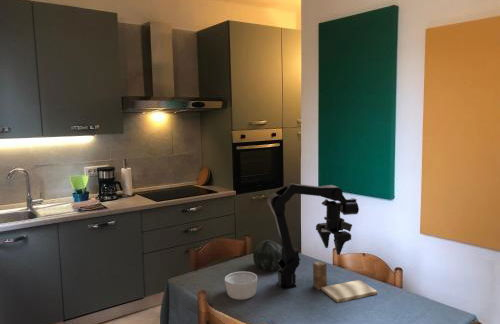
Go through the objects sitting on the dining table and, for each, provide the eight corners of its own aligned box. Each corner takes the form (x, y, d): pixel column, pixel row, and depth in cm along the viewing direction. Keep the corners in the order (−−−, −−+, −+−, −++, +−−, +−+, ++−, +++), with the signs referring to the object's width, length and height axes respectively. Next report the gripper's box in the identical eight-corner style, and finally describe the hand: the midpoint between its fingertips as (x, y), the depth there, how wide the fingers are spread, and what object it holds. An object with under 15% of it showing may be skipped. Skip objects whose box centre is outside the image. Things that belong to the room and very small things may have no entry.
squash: (272, 248, 201) (257, 230, 193) (295, 256, 190) (280, 238, 182) (256, 272, 195) (241, 255, 187) (279, 281, 184) (264, 264, 176)
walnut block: (318, 289, 164) (317, 265, 163) (313, 285, 168) (313, 262, 167) (326, 287, 166) (326, 264, 165) (321, 284, 170) (321, 260, 168)
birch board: (337, 302, 153) (337, 299, 153) (321, 290, 164) (321, 287, 164) (377, 294, 159) (377, 291, 159) (359, 282, 170) (359, 279, 170)
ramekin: (219, 299, 159) (219, 282, 158) (232, 285, 171) (232, 269, 170) (251, 303, 154) (250, 286, 154) (262, 289, 167) (261, 273, 166)
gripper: (362, 218, 165) (361, 255, 166) (337, 209, 182) (336, 242, 184) (339, 221, 161) (338, 259, 162) (315, 211, 178) (315, 245, 180)
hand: (332, 251), depth 172 cm, fingers open, 9 cm apart
